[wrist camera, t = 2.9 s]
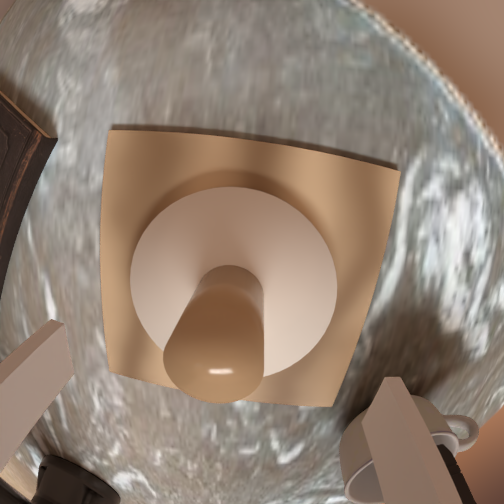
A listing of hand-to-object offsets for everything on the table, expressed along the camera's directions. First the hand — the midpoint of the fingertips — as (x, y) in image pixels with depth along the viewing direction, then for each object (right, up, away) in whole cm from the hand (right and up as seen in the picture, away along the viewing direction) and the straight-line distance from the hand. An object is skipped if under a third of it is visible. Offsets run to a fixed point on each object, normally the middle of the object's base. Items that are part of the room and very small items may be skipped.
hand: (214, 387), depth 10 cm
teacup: (+16, -11, +14) cm, 24 cm away
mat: (0, +3, +10) cm, 11 cm away
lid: (0, +2, +10) cm, 10 cm away
